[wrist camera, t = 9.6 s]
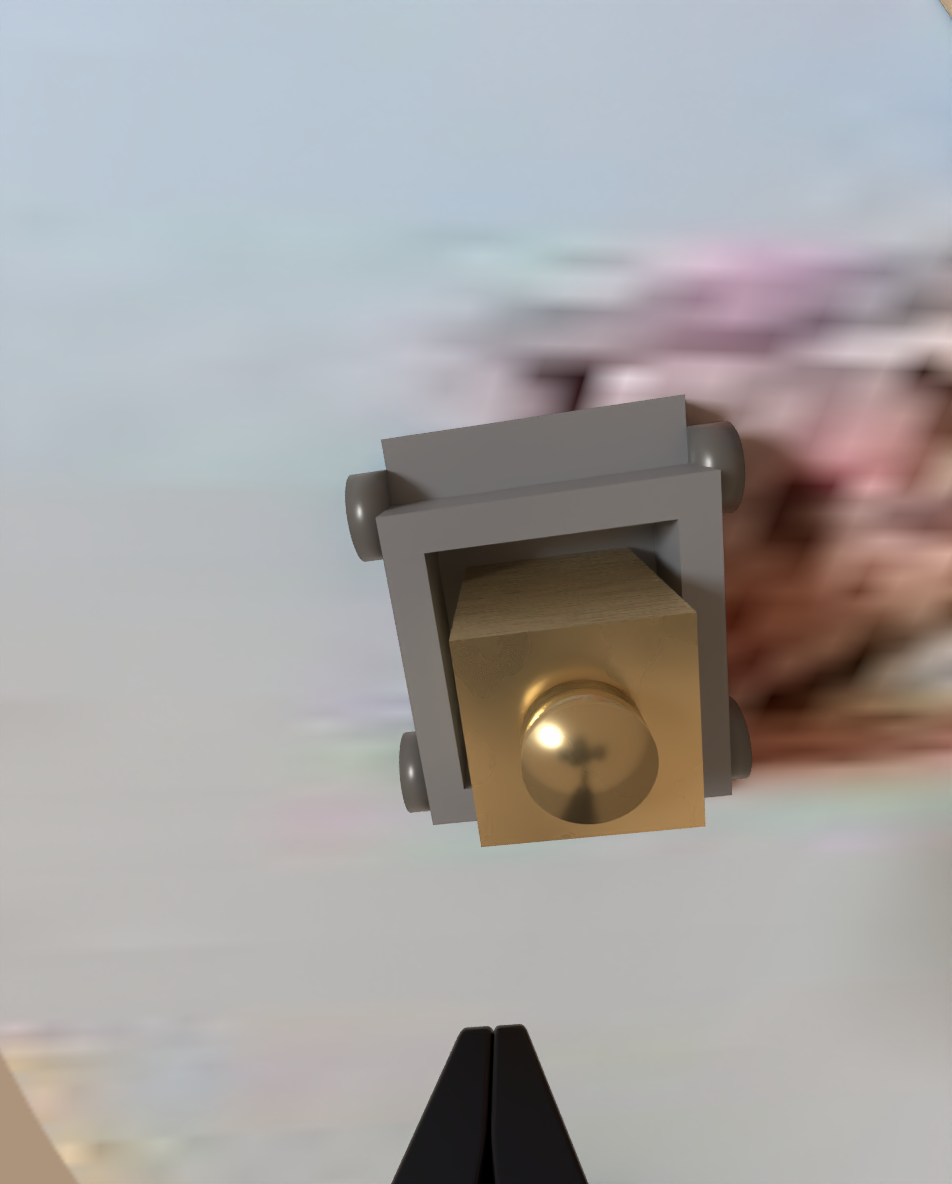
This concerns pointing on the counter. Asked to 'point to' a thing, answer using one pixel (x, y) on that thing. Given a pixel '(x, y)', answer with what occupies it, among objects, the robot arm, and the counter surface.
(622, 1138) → the counter surface
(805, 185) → the counter surface
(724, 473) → the chassis
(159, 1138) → the counter surface
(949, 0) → the stack of blocks
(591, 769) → the brass knobbed block
